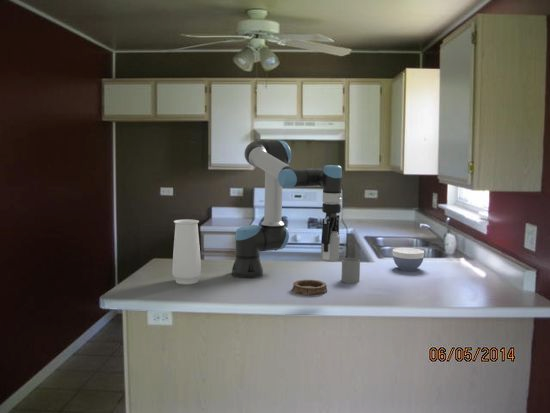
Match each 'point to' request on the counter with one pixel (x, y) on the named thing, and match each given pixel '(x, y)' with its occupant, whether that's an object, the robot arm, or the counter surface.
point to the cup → (350, 270)
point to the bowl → (408, 258)
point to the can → (333, 247)
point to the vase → (186, 252)
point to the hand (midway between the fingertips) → (329, 257)
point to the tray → (309, 287)
